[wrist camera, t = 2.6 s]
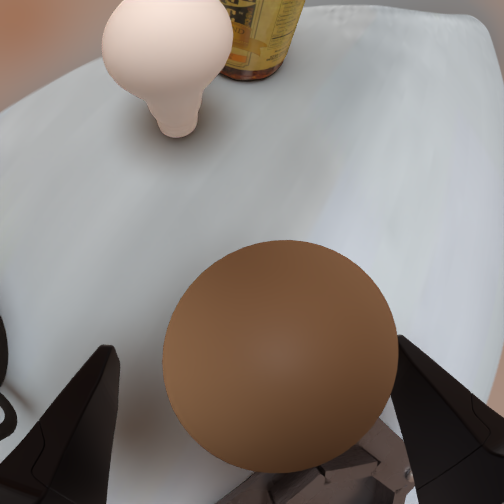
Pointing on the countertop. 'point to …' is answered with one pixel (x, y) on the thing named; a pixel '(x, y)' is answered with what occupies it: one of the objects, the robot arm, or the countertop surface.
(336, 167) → the countertop surface
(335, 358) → the brown round cylinder
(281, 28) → the sauce bottle
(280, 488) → the bracket
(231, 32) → the lightbulb
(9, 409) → the mug
